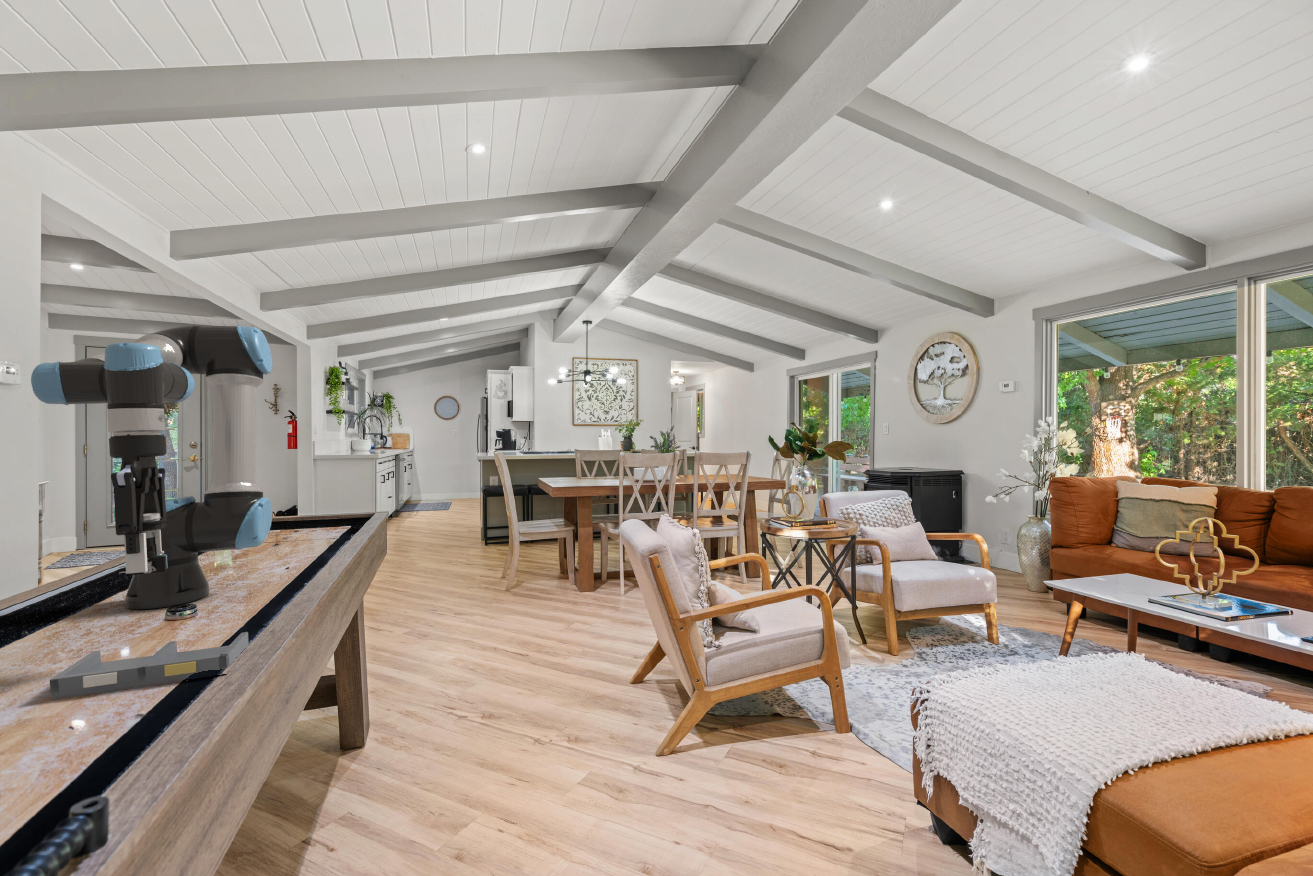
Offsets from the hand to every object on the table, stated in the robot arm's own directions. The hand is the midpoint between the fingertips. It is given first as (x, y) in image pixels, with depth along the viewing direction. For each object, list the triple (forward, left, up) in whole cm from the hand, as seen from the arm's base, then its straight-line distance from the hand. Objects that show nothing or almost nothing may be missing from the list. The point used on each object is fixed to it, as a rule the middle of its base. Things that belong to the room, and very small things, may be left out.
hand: (144, 568), depth 106 cm
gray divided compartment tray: (+9, +5, -15) cm, 18 cm away
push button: (0, 0, -1) cm, 1 cm away
